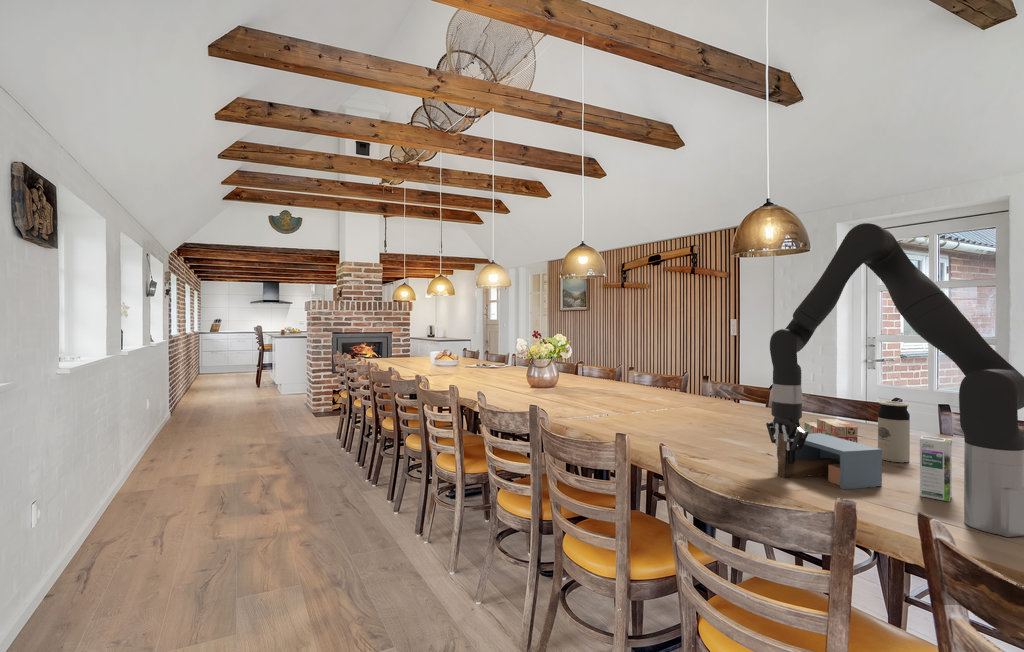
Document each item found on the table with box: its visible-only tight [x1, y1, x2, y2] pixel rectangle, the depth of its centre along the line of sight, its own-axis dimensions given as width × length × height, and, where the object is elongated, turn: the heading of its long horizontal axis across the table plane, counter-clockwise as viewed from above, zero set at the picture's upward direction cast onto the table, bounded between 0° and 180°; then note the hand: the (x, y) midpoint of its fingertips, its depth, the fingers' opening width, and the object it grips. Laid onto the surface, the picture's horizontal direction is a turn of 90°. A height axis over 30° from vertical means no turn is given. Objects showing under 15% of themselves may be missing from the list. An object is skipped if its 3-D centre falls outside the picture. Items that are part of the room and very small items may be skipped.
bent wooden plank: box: [777, 433, 840, 479], centre depth 139 cm, size 8×17×12 cm, turn 102°
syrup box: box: [919, 435, 953, 503], centre depth 124 cm, size 6×6×14 cm
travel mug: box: [877, 400, 911, 464], centre depth 158 cm, size 8×8×18 cm
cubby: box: [795, 433, 883, 491], centre depth 140 cm, size 20×12×10 cm, turn 12°
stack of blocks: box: [804, 418, 859, 443], centre depth 161 cm, size 21×6×12 cm, turn 172°
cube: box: [827, 464, 840, 486], centre depth 135 cm, size 4×4×4 cm
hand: (785, 461), depth 141 cm, fingers closed on bent wooden plank, 2 cm apart
